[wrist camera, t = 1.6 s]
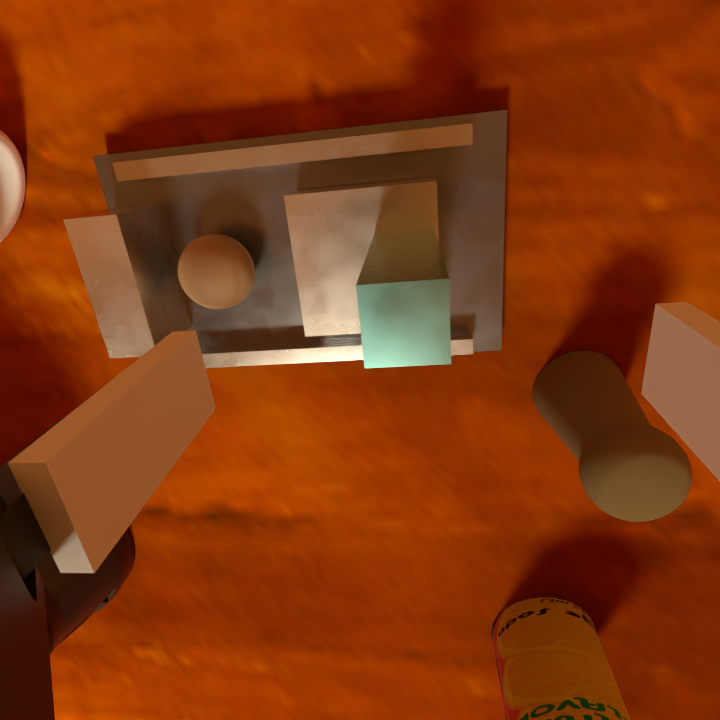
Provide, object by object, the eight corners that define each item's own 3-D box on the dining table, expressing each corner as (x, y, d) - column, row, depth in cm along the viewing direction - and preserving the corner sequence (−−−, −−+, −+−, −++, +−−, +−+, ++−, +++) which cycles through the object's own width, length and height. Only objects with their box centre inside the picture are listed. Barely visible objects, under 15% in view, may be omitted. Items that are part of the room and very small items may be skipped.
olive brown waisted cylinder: (540, 348, 33) (598, 439, 23) (632, 352, 32) (733, 447, 22) (526, 424, 35) (572, 536, 25) (611, 429, 35) (694, 545, 25)
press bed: (165, 359, 36) (117, 402, 30) (107, 155, 30) (33, 158, 24) (497, 341, 33) (517, 385, 27) (502, 111, 27) (528, 102, 21)
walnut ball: (204, 299, 32) (175, 321, 28) (188, 231, 30) (154, 245, 26) (269, 294, 31) (248, 317, 27) (256, 225, 29) (233, 238, 25)
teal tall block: (314, 319, 31) (257, 427, 20) (295, 190, 28) (214, 226, 16) (438, 311, 30) (457, 420, 19) (433, 177, 27) (454, 204, 15)
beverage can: (488, 599, 43) (515, 755, 32) (594, 594, 41) (661, 756, 31) (494, 665, 46) (521, 826, 35) (593, 663, 45) (652, 829, 34)
